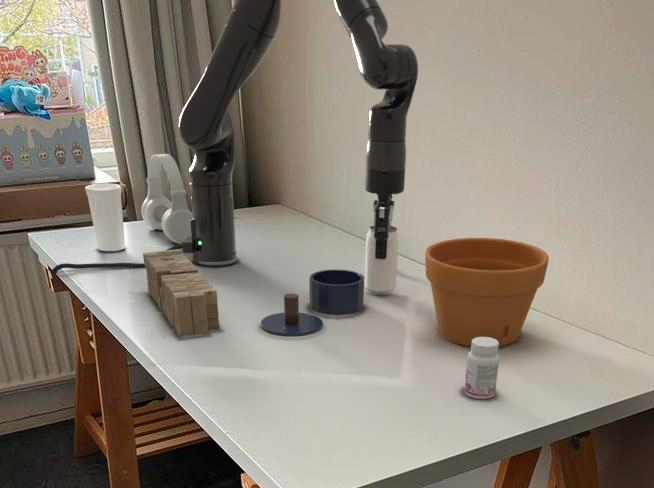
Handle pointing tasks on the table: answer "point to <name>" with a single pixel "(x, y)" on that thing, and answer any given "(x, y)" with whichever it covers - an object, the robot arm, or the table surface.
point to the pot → (336, 292)
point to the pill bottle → (482, 368)
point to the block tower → (181, 292)
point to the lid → (291, 320)
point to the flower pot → (483, 287)
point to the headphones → (166, 201)
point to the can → (381, 262)
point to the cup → (107, 215)
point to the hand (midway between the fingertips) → (381, 253)
